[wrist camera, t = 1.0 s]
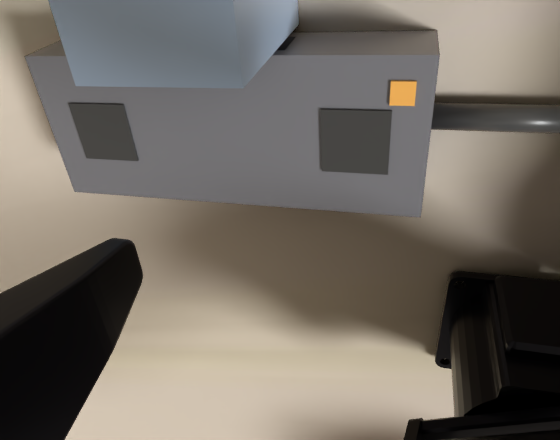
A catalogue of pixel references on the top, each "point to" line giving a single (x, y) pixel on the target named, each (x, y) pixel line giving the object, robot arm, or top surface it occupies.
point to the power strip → (275, 127)
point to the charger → (171, 40)
